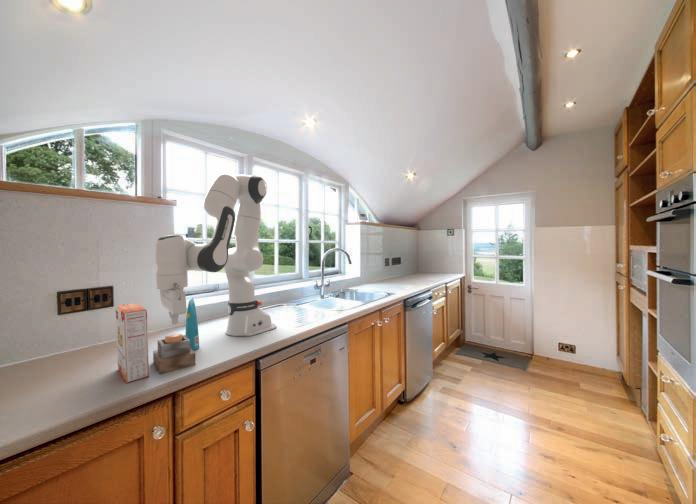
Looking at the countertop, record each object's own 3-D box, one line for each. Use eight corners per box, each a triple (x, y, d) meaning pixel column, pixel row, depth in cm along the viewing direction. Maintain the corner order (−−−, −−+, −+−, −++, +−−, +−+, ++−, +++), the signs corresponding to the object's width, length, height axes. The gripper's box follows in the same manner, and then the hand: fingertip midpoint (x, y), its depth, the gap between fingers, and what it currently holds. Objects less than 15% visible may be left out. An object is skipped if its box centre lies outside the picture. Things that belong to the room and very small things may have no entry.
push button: (180, 346, 97) (180, 332, 96) (184, 350, 93) (183, 336, 93) (163, 350, 93) (163, 336, 93) (166, 354, 90) (166, 339, 89)
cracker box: (116, 369, 89) (114, 305, 88) (139, 363, 93) (137, 302, 93) (124, 384, 79) (122, 312, 79) (149, 377, 84) (148, 308, 83)
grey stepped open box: (186, 354, 101) (186, 332, 101) (195, 364, 92) (195, 340, 92) (153, 362, 94) (152, 339, 94) (159, 374, 85) (159, 348, 85)
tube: (186, 346, 109) (185, 298, 109) (200, 344, 111) (199, 297, 111) (183, 353, 102) (183, 301, 102) (198, 351, 104) (197, 300, 104)
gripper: (191, 284, 87) (192, 327, 88) (176, 278, 102) (178, 315, 103) (167, 286, 83) (169, 332, 83) (156, 280, 98) (157, 319, 98)
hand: (174, 323), depth 93 cm, fingers closed
